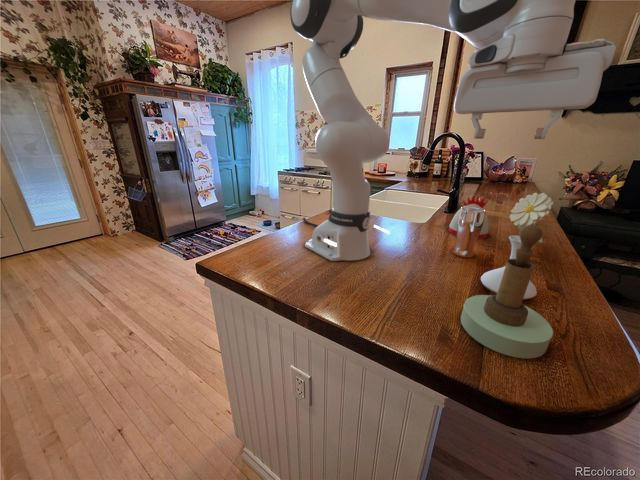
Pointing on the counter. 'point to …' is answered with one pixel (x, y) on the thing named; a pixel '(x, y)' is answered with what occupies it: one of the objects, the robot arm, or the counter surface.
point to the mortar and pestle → (514, 283)
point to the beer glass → (468, 230)
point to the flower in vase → (522, 214)
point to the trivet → (506, 331)
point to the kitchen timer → (471, 204)
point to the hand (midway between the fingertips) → (507, 138)
